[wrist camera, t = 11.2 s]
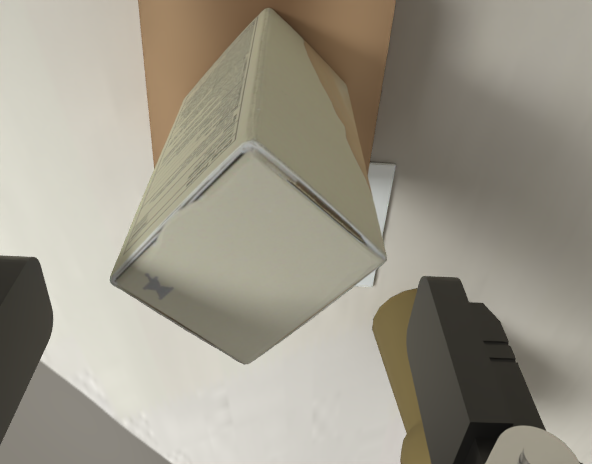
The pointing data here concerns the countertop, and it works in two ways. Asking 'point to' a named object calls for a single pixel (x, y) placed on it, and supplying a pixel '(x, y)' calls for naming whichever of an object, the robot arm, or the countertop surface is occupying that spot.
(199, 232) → the box
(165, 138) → the base brick
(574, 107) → the countertop surface
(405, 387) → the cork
